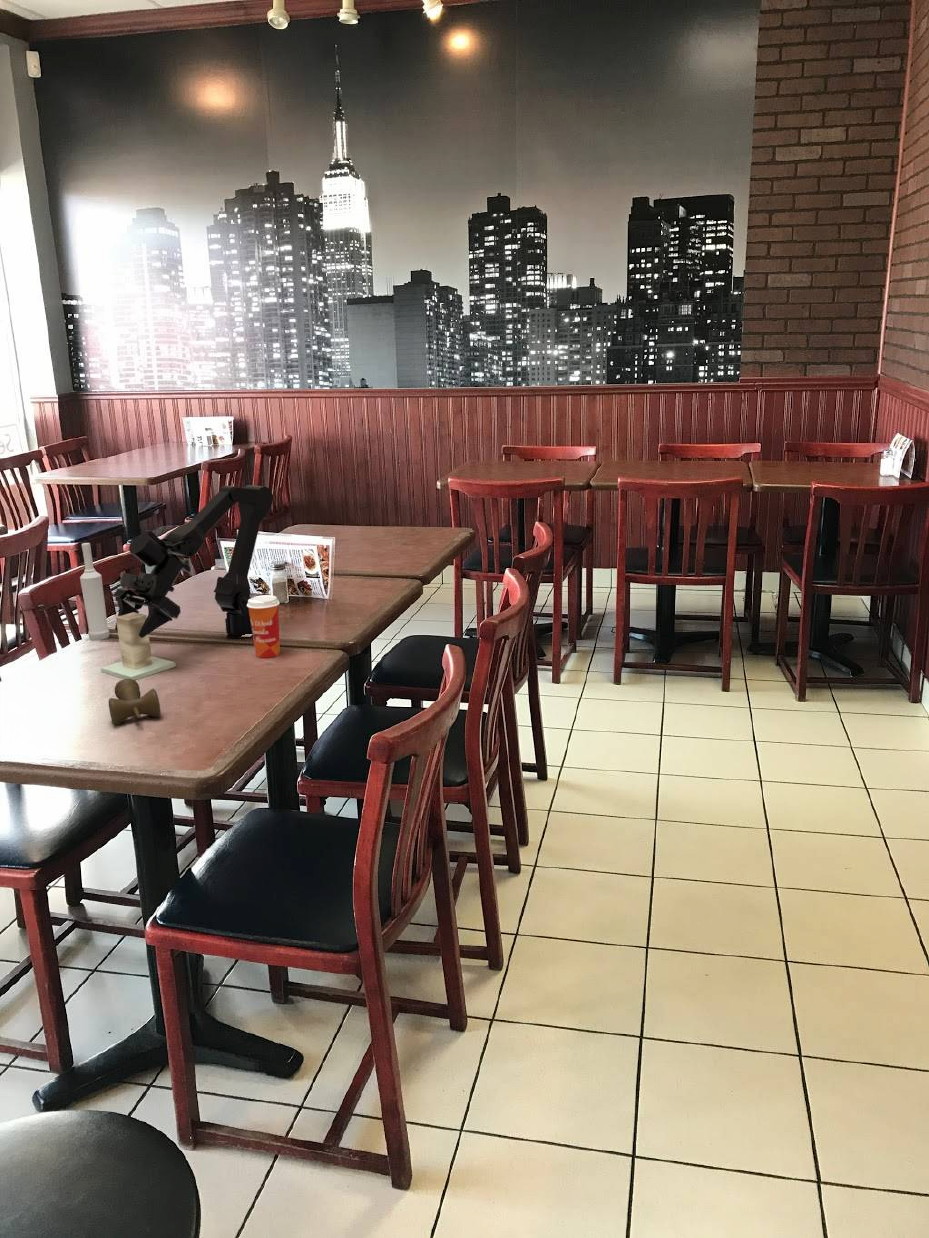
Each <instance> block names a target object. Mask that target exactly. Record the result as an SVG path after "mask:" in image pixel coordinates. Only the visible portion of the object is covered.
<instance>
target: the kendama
mask: <svg viewBox="0 0 929 1238" xmlns="http://www.w3.org/2000/svg"><path fill="white" fill-rule="evenodd" d="M114 695H115V697H116V698H113V697H111V698H108V710H109V716H110V718H111V722H112V724H113V725H114V726H118V725H121V723H122V722H124V721H126V720H127V719H129V718H131V717H134V716H136V718H137V719H138V718H140V717H141V716H140V715H147V716H150V717H154V718H156V719H158V718H161V704H160V700H159V699H160V698H159V695H158V693H157V691H156V689H155V688H151V689H150V690H149V691H147V692H146V693H145V694H144V695H142V696H141V690H140V684H139V683H138V682H137V680H133V679H123V678H122V679H121V680H119V681H118V682H116V684H115V686H114Z"/></svg>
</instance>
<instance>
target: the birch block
mask: <svg viewBox="0 0 929 1238" xmlns="http://www.w3.org/2000/svg"><path fill="white" fill-rule="evenodd" d="M146 618H147V614H142V613H140V612H139V613H135V612H133V613H129V614H126V615H122V616H118V615H117V616H116V617H115V621H116V622H117V628H118V632H117V635H118V641H119V648H120V656H121V661H122V664H123V667H127V668H130V669H134V670H136V669H139V668H142V667H146V666H149V665H152V664H153V663H152V650H151V643H150V636H149V634H150V633H149V634H148V635H146V636H145V637H143V638H141V637H139V633H140V630H141V628H142V626H143V624H144V622H145V620H146Z"/></svg>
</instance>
